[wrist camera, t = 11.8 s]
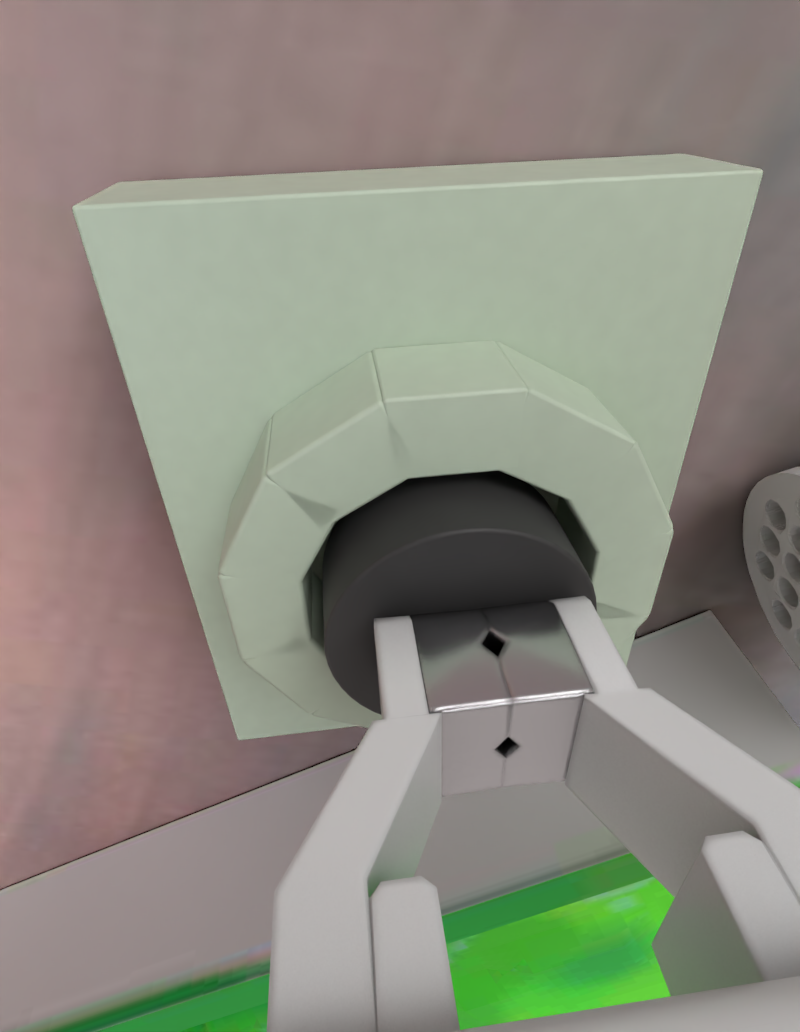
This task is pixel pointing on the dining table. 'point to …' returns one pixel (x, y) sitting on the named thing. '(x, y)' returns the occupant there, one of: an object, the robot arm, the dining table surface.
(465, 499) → the bell button
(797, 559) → the flashlight
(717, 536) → the dining table surface
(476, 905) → the tray
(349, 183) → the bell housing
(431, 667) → the robot arm
